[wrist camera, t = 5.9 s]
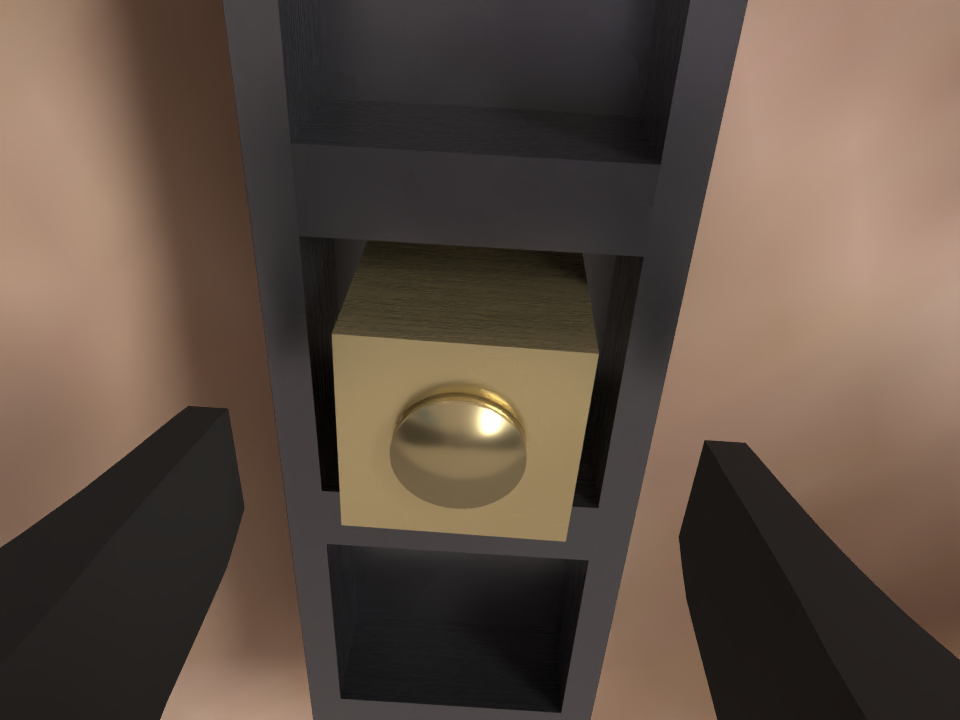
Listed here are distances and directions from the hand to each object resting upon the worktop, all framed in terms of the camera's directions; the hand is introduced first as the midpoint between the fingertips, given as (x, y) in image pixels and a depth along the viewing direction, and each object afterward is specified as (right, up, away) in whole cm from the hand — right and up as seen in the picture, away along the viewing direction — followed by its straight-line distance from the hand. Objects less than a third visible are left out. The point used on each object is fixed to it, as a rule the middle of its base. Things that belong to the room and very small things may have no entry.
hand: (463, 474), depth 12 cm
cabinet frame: (0, +3, +4) cm, 5 cm away
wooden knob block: (0, +3, +4) cm, 5 cm away
